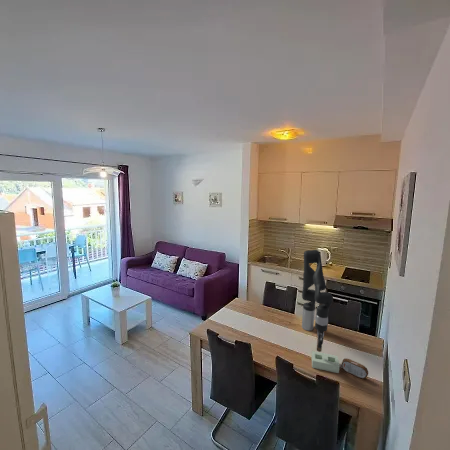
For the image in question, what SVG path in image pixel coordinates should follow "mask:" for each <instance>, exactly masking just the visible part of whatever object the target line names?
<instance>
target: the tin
mask: <svg viewBox="0 0 450 450" xmlns="http://www.w3.org/2000/svg"><path fill="white" fill-rule="evenodd" d="M341 367H342V369H343V370H344V371H345V372H346V373H348V374H350V375H352V376H355V377H357V378H359V379H362V380H363V379H364V380H365V379H366V378H368V376H369V369H368V368H367V367H366V366H365V365H364V364H361V363H359V362H357V361H355V360H353V359H350V358H343V359H342V361H341Z"/></svg>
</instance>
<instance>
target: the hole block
mask: <svg viewBox="0 0 450 450" xmlns="http://www.w3.org/2000/svg"><path fill="white" fill-rule="evenodd" d="M311 367H312V369H317V370H321V371H322V370H323V371H327V372H331V373H336V374H339V373H340V361H339V356H338V355H334V354H330V353H324V352H318V351H313V350H312V351H311Z"/></svg>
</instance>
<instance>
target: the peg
mask: <svg viewBox="0 0 450 450" xmlns="http://www.w3.org/2000/svg"><path fill="white" fill-rule="evenodd" d="M322 348H323V347H322ZM322 348H318V338H317V342H316V352H320V353H322V350H323V349H322Z"/></svg>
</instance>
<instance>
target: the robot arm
mask: <svg viewBox="0 0 450 450" xmlns="http://www.w3.org/2000/svg"><path fill="white" fill-rule="evenodd" d="M322 262H323V261H322V257H321V252H320V251H319V250H318V249H313V250H311V249H308V250H304V252H303V275H302V276H303V280H302V281H303V283H302V292H301V293H302V294H301V298H302V300H303V301H305V302H304V303H303V306H302V319H301V328H302V329H303V330H304V331H313V330H314V328H315V329H316V334H317V339H318V348H323V343H324V336H325V332H326V331H327V330H328V325H329V310H330V307H331V305H332V303H333V300H334V298H333V295H332V293H331V292H325V291H324V290H326V289H327V284H326V281H325V277H324V269H323V263H322ZM310 264H316V268H315V270H314V269H313V268H312V266H311V265H310ZM312 286H314V289H309V288H311V287H312ZM306 301H307V302H306ZM316 303H317V304H318V305H317V307H316ZM319 304H320V305H319ZM315 311H316V314H315Z"/></svg>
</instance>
